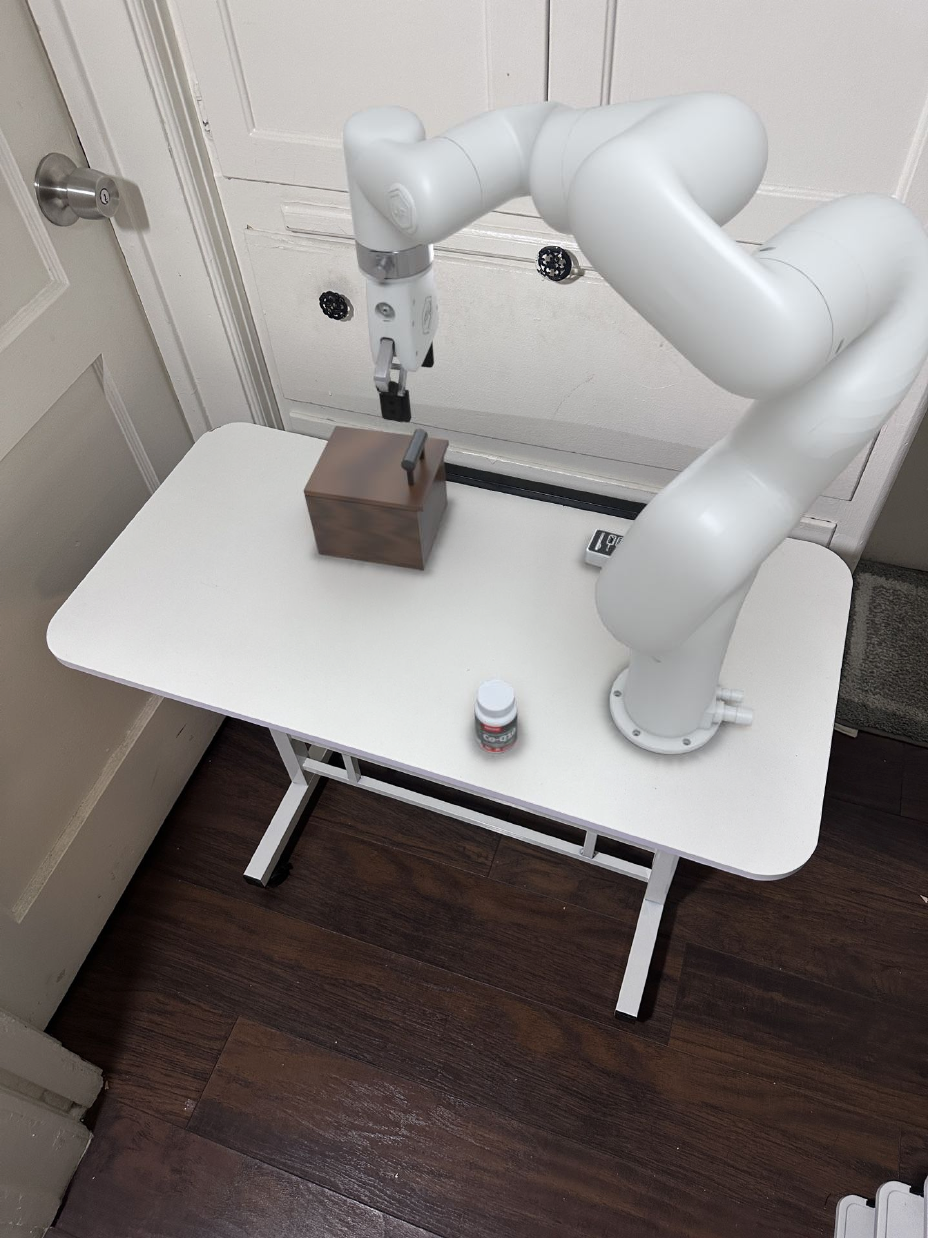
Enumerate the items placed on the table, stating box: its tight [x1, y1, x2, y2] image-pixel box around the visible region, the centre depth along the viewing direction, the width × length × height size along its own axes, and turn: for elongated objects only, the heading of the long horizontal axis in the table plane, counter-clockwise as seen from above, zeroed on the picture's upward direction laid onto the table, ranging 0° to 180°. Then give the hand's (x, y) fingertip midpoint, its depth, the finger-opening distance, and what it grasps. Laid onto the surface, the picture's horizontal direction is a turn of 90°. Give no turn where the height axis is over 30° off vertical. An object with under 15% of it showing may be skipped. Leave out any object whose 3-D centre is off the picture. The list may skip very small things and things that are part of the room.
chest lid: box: [303, 425, 450, 512], centre depth 115 cm, size 15×13×5 cm
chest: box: [304, 458, 449, 571], centre depth 121 cm, size 15×13×11 cm
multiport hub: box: [584, 528, 625, 568], centre depth 118 cm, size 4×14×2 cm, turn 66°
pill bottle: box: [473, 679, 519, 754], centre depth 101 cm, size 5×5×8 cm
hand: (409, 391), depth 103 cm, fingers open, 9 cm apart
